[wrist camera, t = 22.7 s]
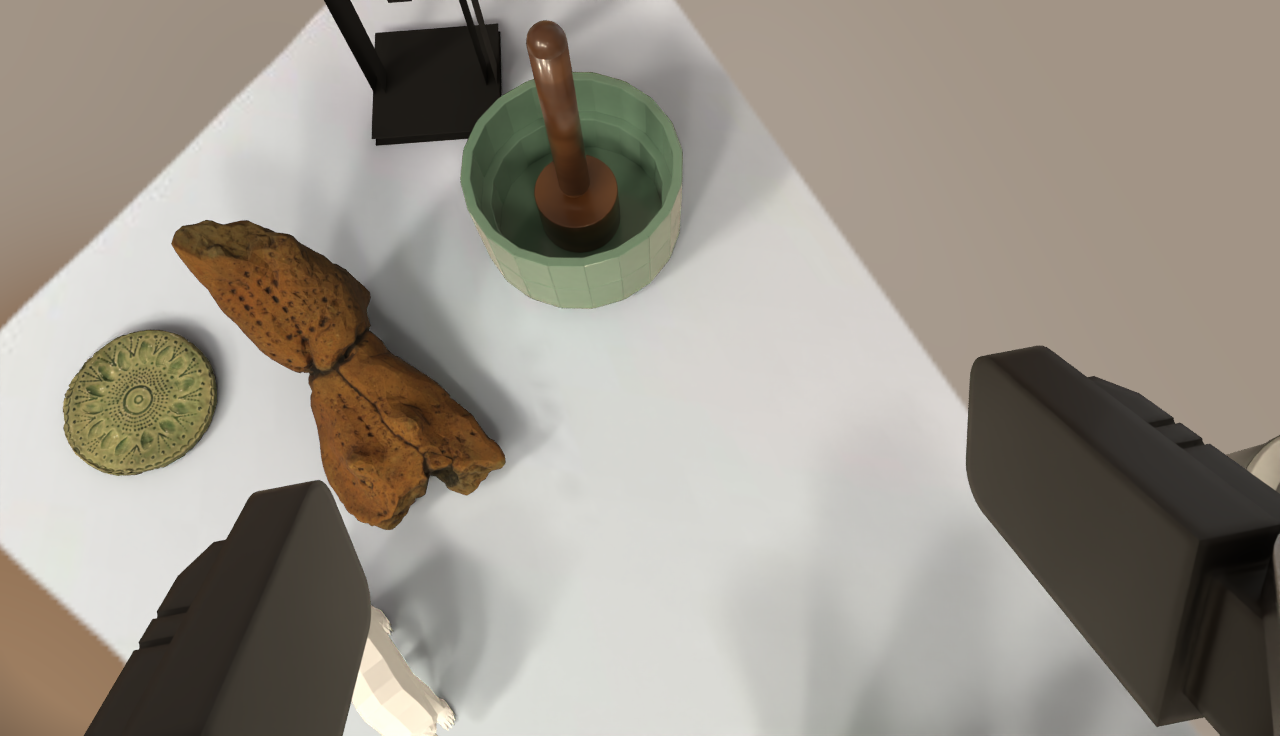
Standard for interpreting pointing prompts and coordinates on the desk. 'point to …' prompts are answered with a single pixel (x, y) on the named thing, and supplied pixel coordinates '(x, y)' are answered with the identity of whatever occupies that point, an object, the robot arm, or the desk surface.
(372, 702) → the figurine
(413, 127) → the handbag
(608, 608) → the desk surface
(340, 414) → the sculpture
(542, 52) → the brown wooden pestle
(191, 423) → the medallion
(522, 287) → the bowl
